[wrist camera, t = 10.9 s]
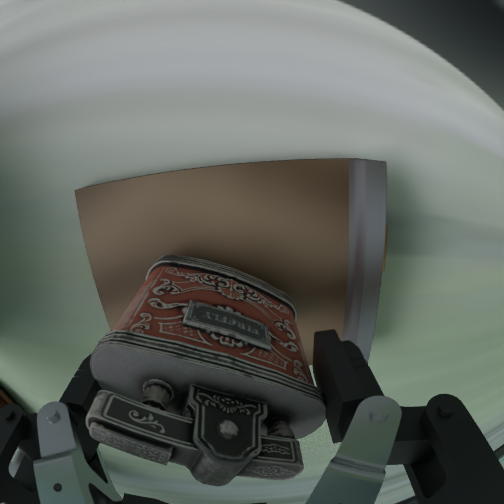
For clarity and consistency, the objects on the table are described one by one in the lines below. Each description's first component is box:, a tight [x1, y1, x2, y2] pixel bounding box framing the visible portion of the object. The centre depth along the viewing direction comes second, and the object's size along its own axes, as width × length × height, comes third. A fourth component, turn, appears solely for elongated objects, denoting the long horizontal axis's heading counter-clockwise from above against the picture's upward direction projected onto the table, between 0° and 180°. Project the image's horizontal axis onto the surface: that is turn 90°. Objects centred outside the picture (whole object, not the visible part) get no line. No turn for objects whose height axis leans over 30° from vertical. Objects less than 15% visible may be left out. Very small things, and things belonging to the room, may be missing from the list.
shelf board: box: [75, 158, 387, 365], centre depth 15 cm, size 13×17×4 cm
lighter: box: [86, 255, 326, 486], centre depth 10 cm, size 8×3×10 cm, turn 68°
